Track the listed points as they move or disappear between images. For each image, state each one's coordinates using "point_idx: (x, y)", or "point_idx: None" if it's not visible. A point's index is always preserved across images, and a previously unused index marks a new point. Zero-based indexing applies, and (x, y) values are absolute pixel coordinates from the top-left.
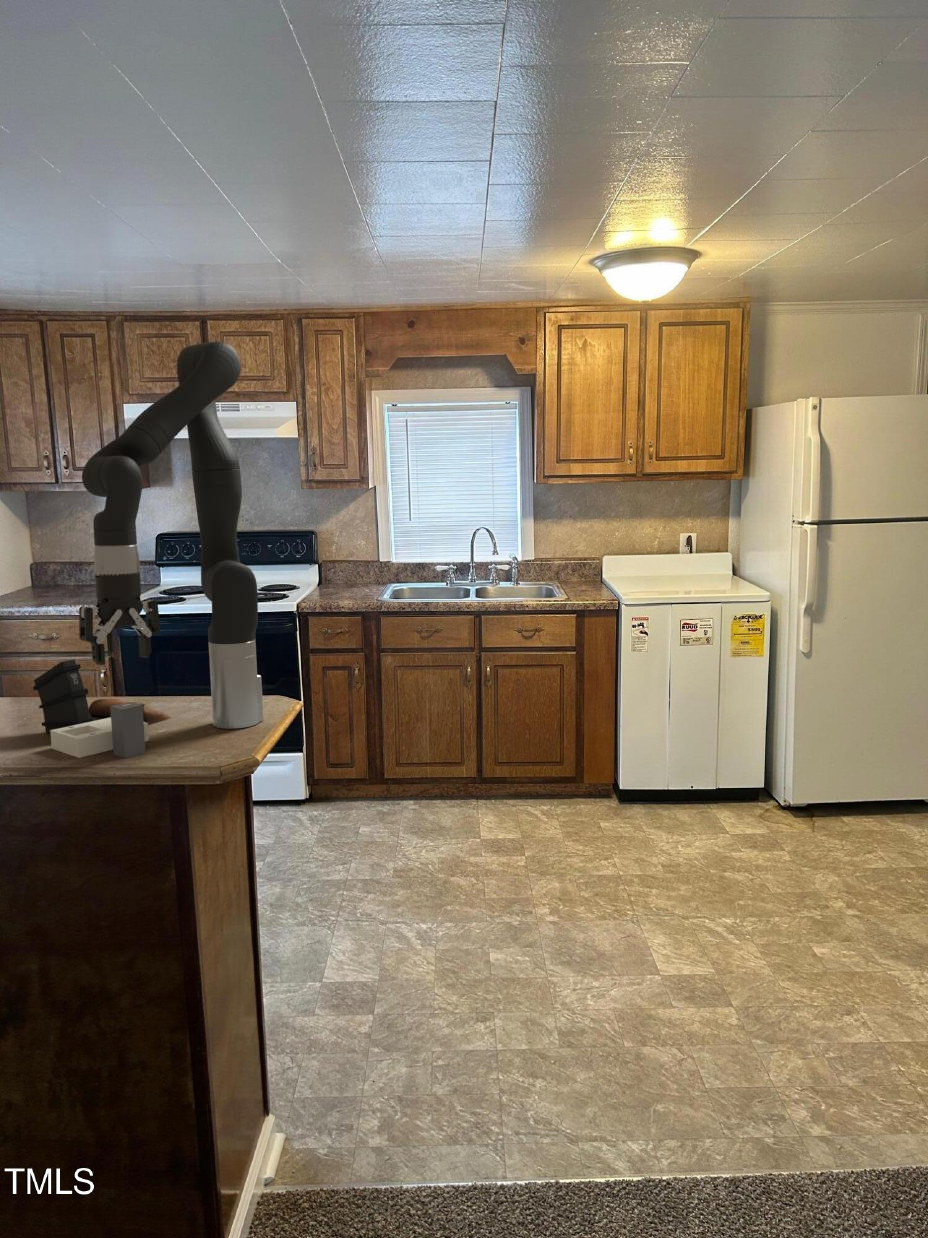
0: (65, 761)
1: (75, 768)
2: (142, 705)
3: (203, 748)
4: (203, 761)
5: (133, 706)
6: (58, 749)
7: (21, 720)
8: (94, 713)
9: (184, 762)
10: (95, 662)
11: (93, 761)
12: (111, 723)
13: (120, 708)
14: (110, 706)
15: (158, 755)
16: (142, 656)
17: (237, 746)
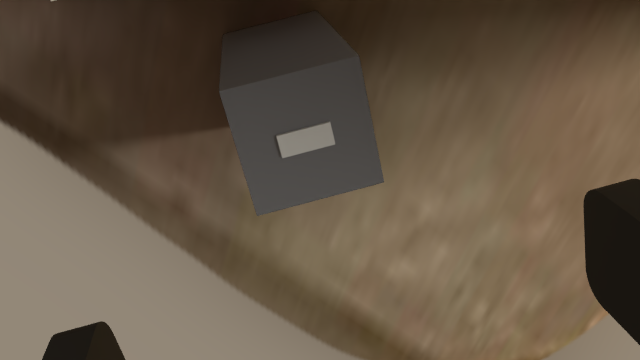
0: (13, 4)
1: (45, 139)
2: (383, 181)
3: (525, 171)
4: (448, 312)
5: (331, 189)
6: None
7: None
8: None
9: (398, 290)
10: (55, 337)
11: (127, 84)
12: (221, 65)
13: (254, 193)
14: (220, 94)
15: None
16: (591, 243)
17: None
